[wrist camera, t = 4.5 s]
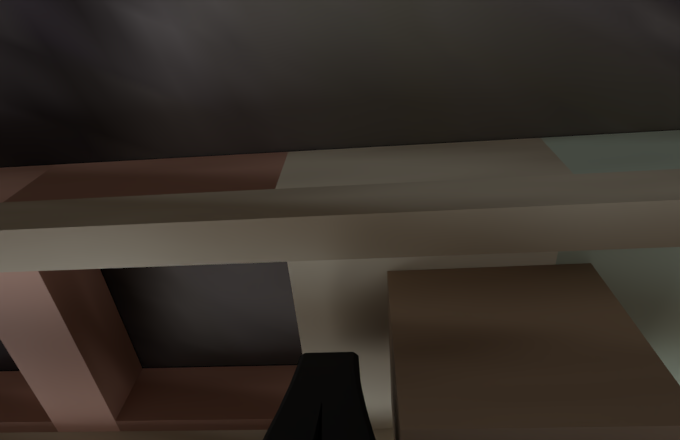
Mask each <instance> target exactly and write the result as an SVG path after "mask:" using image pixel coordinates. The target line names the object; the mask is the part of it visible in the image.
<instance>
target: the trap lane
mask: <svg viewBox="0 0 680 440" xmlns="http://www.w3.org/2000/svg"><path fill="white" fill-rule="evenodd" d="M265 262H287V263H288V269H289V276H290V282H291V288H292V294H293V300H294V306H295V312H296V318H297V324H298V330H299V336H300V342H301V348H302V354H304V353H321V352H354V353H356V354H357V355H359V367H360V380H361V386H362V391H363V395H364V400H365V404H366V408H367V412H368V416H369V419H370V422H371V426H372V429H373V432H374V435H375V439H376V440H394V436H393V421H392V406H391V382H390V350H389V318H388V285H387V271H403V270H428V269H454V268H479V267H505V266H530V265H556V264H582V263H591V264H592V265H593V267H594V268H595V269H596V271H597V272H598V274H599V275H600V276H601V278H602V279H603V280H604V282H605V283H606V285H607V286H608V287H609V289H610V290H611V291H612V293H613V294H614V296H615V297H616V298H617V300H618V301H619V302H620V304H621V305H622V307H623V308H624V309H625V311H626V312H627V314H628V315H629V316H630V318H631V319H632V320H633V322H634V323H635V325H636V326H637V327H638V329H639V330H640V331H641V333H642V334H643V336H644V337H645V338H646V340H647V341H648V342H649V344H650V345H651V347H652V348H653V349H654V351H655V352H656V354H657V355H658V356H659V358H660V359H661V360H662V362H663V363H664V365H665V366H666V367H667V369H668V370H669V371H670V373H671V374H672V376H673V377H674V378H675V380H676V381H677V382H678V384H679V385H680V130H672V131H653V132H635V133H617V134H599V135H581V136H563V137H545V138H527V139H509V140H491V141H473V142H455V143H437V144H419V145H401V146H383V147H365V148H347V149H329V150H311V151H293V152H275V153H257V154H239V155H221V156H203V157H184V158H166V159H148V160H130V161H112V162H94V163H76V164H58V165H40V166H22V167H4V168H0V340H1V341H2V343H3V344H4V346H5V348H6V349H7V351H8V352H9V354H10V356H11V357H12V359H13V360H14V362H15V364H16V365H17V367H18V368H19V370H20V371H0V440H263V438H264V436H265V434H266V432H267V430H268V428H269V426H270V424H271V422H272V420H273V418H274V416H275V415H276V413H277V411H278V409H279V407H280V404H281V402H282V400H283V398H284V396H285V394H286V391H287V389H288V387H289V385H290V382H291V380H292V377H293V375H294V372H295V370H296V367H297V365H281V366H233V367H186V368H142V366H141V364H140V362H139V359H138V357H137V355H136V352H135V350H134V348H133V345H132V343H131V340H130V338H129V336H128V333H127V331H126V329H125V326H124V324H123V322H122V319H121V317H120V315H119V312H118V310H117V308H116V305H115V303H114V301H113V298H112V296H111V294H110V291H109V289H108V287H107V284H106V282H105V280H104V277H103V275H102V273H101V270H100V269H106V268H132V267H159V266H186V265H212V264H239V263H265Z"/></svg>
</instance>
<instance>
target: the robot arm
mask: <svg viewBox="0 0 680 440" xmlns="http://www.w3.org/2000/svg"><path fill="white" fill-rule="evenodd" d="M263 440H376V439H375V435H374V432H373V429H372V426H371V422H370V419H369V416H368V412H367V408H366V404H365V400H364V395H363V391H362V386H361V380H360V367H359V355H357V354H356V353H354V352H321V353H304V354H303V355H302V356H300V359H299V362H298V365H297V367H296V370H295V372H294V375H293V377H292V380H291V382H290V385H289V387H288V389H287V391H286V394H285V396H284V398H283V400H282V402H281V404H280V407H279V409H278V411H277V413H276V415H275V416H274V418H273V420H272V422H271V424H270V426H269V428H268V430H267V432H266V434H265V436H264V438H263Z"/></svg>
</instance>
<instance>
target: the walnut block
mask: <svg viewBox="0 0 680 440" xmlns="http://www.w3.org/2000/svg"><path fill="white" fill-rule="evenodd" d="M387 285H388V318H389V350H390V382H391V406H392V421H393V436H394V440H680V385H679V384H678V382H677V381H676V380H675V378H674V377H673V376H672V374H671V373H670V371H669V370H668V369H667V367H666V366H665V365H664V363H663V362H662V360H661V359H660V358H659V356H658V355H657V354H656V352H655V351H654V349H653V348H652V347H651V345H650V344H649V342H648V341H647V340H646V338H645V337H644V336H643V334H642V333H641V331H640V330H639V329H638V327H637V326H636V325H635V323H634V322H633V320H632V319H631V318H630V316H629V315H628V314H627V312H626V311H625V309H624V308H623V307H622V305H621V304H620V302H619V301H618V300H617V298H616V297H615V296H614V294H613V293H612V291H611V290H610V289H609V287H608V286H607V285H606V283H605V282H604V280H603V279H602V278H601V276H600V275H599V274H598V272H597V271H596V269H595V268H594V267H593V265H592V264H591V263H582V264H556V265H530V266H505V267H479V268H454V269H428V270H403V271H387Z"/></svg>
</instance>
